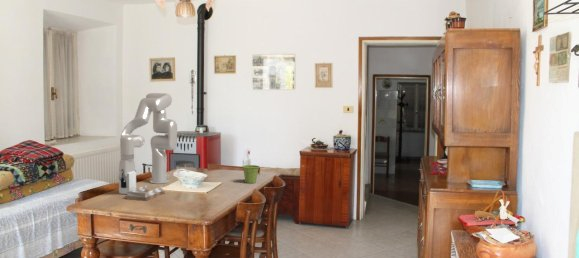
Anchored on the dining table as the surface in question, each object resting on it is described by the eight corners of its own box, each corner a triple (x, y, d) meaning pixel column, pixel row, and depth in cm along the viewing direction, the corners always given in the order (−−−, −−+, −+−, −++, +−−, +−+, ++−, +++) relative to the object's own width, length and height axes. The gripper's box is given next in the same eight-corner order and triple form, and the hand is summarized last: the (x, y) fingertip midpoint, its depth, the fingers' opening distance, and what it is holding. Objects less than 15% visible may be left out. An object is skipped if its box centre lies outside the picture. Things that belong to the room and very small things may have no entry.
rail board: (144, 191, 285) (144, 185, 285) (164, 193, 282) (164, 186, 282) (124, 198, 266) (124, 191, 266) (146, 200, 263) (146, 193, 262)
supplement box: (136, 191, 284) (136, 171, 282) (129, 194, 276) (129, 173, 275) (126, 190, 285) (125, 170, 284) (118, 193, 278) (118, 172, 277)
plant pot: (258, 184, 315) (258, 167, 314) (241, 183, 315) (241, 167, 314) (260, 181, 327) (260, 165, 326) (243, 180, 327) (243, 164, 326)
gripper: (130, 154, 288) (130, 183, 290) (112, 159, 271) (113, 189, 273) (140, 155, 286) (141, 183, 288) (124, 159, 270) (124, 189, 271)
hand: (127, 186), depth 281 cm, fingers closed on supplement box, 7 cm apart
